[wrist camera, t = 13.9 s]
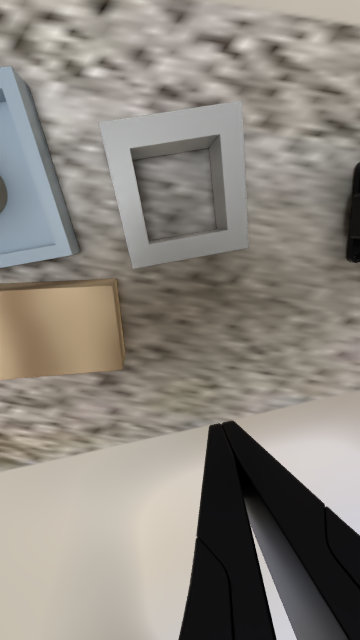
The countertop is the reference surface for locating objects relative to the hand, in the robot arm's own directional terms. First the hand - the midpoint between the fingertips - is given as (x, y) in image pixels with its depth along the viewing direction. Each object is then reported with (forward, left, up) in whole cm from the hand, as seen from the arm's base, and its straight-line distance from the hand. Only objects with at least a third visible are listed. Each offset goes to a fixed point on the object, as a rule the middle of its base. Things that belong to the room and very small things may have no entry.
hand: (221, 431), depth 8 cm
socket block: (-1, -8, -11) cm, 14 cm away
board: (+9, -1, -12) cm, 15 cm away
